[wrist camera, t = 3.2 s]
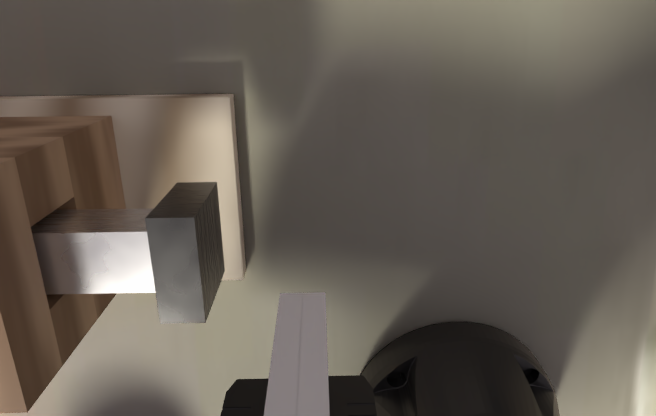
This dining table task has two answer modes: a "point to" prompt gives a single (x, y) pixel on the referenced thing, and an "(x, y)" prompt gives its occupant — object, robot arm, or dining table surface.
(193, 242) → the shaft
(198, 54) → the dining table surface
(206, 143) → the block
